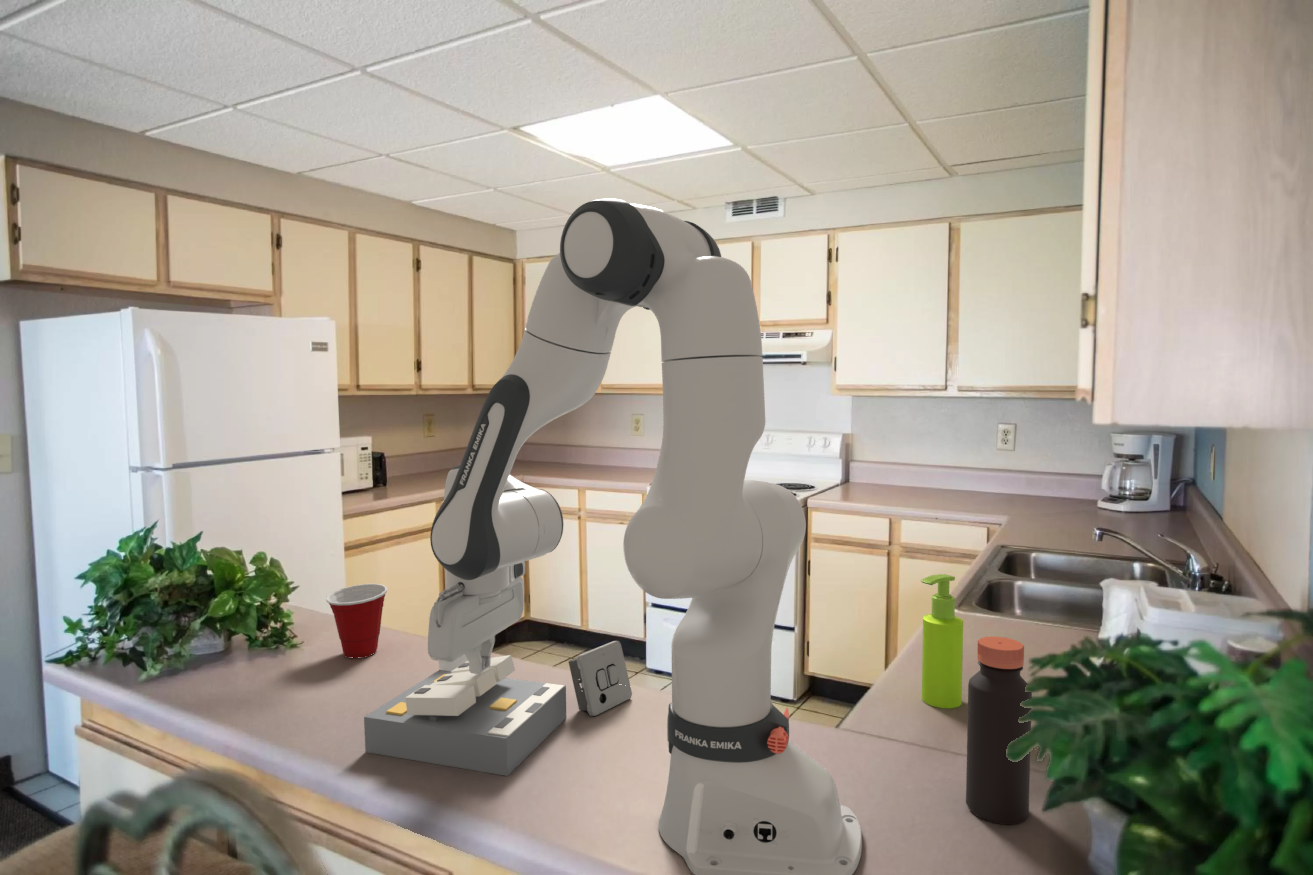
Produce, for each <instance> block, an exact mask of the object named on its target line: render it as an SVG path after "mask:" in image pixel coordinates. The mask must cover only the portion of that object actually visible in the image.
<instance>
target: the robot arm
mask: <svg viewBox="0 0 1313 875" xmlns="http://www.w3.org/2000/svg"><path fill="white" fill-rule="evenodd" d="M559 243H560V244H559V253H557V254H555V255H554V256H553V257H552V258H551V259H550V260H549V262H548V264H547V267H546V269H545V270H544V272H543V274H542V276H541V279H540V281H539V284H538V287H537V289H536V292H535V295H534V297H533V300H532V303H531V306H530V309H529V312H528V315H527V321H526V324H525V328H524V331H523V336H522V338H521V341H520V344H519V347H518V349H517V351H516V353H515V356H514V357H513V360H512V361H511V363H510V364H509V367H508V368H507V370H506V371H505V372H504V374H503V375H502V377H501V378H499V379H498V380H497V382H496V383H495V384H493V386H492V388H491V389H490V391H489V392H488V394H487V396H486V398H485V400H484V402H483V405H482V407H481V409H480V412H479V415H478V417H477V420H476V423H475V425H474V427H473V431H472V433H471V435H470V439H468V440H469V441H468V443H467V446H466V449H465V451H464V454H463V456H462V459H461V462H460V464H459V465H456V466H454V467H453V468H452V469H450V470H449V471H448V473H447V476H446V480H445V485H444V494H443V502H442V504H441V505H440V506H439V508H438V510H437V512H436V514H435V517H434V518H433V522H432V524H431V529H430V536H429V537H430V546H431V550H432V553H433V556H434V557H435V559H436V560H437V561H438V563H439V564H440V565H441V566H442V567H443V569H444V570H445V571H444V572H445V589H443V590H442V591H440V593H438V597H437V599H436V601H435V602H434V604H433V606H432V607H431V610H430V614H429V617H428V618H429V620H428V628H427V630H428V631H427V633H428V634H427V654H428V656H429V657H430V659H431V660H432V661H438V662H439V661H444V662H453V661H455V660H456V659H458V658H459V657H461V656H463V655H464V654H465V656H466V657H467V659H468V661H469V671H470V673H473V674H479V673H481V672H482V671H484V670H485V669H486V668H488V667H489V666H490V665H491V659H490V658H491V655H492V653H493V649H494V645H495V642H496V635H498V634H499V633H501V632H502V631H504V630H506V629H507V628H508V627H510V626H512V625H513V624H515V623H517V622H518V621H520V620H521V618H522V616H523V613H524V607H525V584H524V583H525V582H524V579H523V576H524V575H525V574H526V562H528V561H531V560H533V559H537V558H540V557H543V556H546V555H547V554H549V553H551V552H553V551H554V550H556V548H557V547H558V546H559V543H561V540H562V537H563V533H564V517H563V512H562V509H561V507H560V504H559V503H558V501H557V499H556V498H555V497H554V496H553V495H552V494H551V493H550V492H549V491H547V490H545V489H543V488H536V487H533V486H531V485H530V484H527V483H525V482H524V481H521V480H519V479H518V478H517V477H515V476H513V475H512V474H511V471H512V469H513V466H514V464H515V461H516V459H517V456H518V453H519V452H520V450H521V448H522V446H523V445H524V444H525V443H526V441H527V440H528V439H529V438H530V437H531V436H532V435H533V434H535V433H536V432H537V431H538V430H540V429H541V428H542V427H543V428H544V426H546V425H547V424H549V423H551V422H552V421H554V420H556V419H558V418H560V417H563V416H564V415H566V414H569V413H571V412H573V411H575V410H577V409H579V408H580V407H582V406H583V405H585V404H587V403H588V402H589V401H591V399H592V398H593V397H594V396H595V395H596V393H597V391H598V389H599V388H600V386H601V384H602V381H603V379H604V377H605V375H606V372H607V369H608V364H609V360H610V357H611V353H612V351H613V346H614V343H615V338H616V334H617V329H618V327H619V324H620V321H621V319H622V318H623V316H624V315H625V314H626V313H627V312H628V311H630V310H631V309H633V308H636V307H639V308H642V309H645V310H647V311H651V312H652V313H653V314H654V316H655V318H656V320H657V322H658V326H659V332H660V353H661V359H660V360H661V374H662V375H661V377H662V382H661V383H662V407H663V408H662V409H663V410H662V412H663V413H662V414H663V417H662V418H663V426H662V430H663V431H662V438H661V446H660V452H659V455H658V456H659V457H658V460H657V463H656V468H655V471H654V475H653V479H652V482H651V485H650V487H649V490H648V492H647V495H646V496H645V499H643V502H642V503H641V505H640V506H639V508H638V509H637V510H636V512H635V513H634V514H633V515H632V517H631V518H630V519H629V522H628V523H627V525H626V527H625V531H624V535H623V544H622V545H623V555H624V556H623V557H624V561H625V564H626V567H627V571H628V572H629V574H630V576H631V578H632V579H633V581H634V583H635V584H637V586H638V587H639V588H640V589H642V591H644V592H645V593H646V594H648V595H650V596H651V597H654V598H658V599H662V600H663V599H665V600H666V599H667V600H668V599H672V600H676V599H678V600H680V599H681V600H682V599H691V600H690V603H689V605H688V607H687V610H686V612H685V614H684V615H683V618H682V619H681V620H680V622H679V623H678V625H677V626H676V628H675V631H674V633H673V635H672V639H671V702H670V703H669V705H668V713H667V717H666V718H667V720H666V721H667V723H666V726H667V727H666V729H667V730H666V731H667V732H666V735H667V737H666V738H667V739H666V740H667V742H668V744H667V745H668V753H669V754H670V760H669V761H670V762H669V772H668V780H667V786H666V793H665V798H664V803H663V806H662V810H661V813H660V816H659V819H658V830H659V834H660V836H661V838H662V839H663V841H664V842H665V843H666V845H667V846H669V848H671V849H672V850H673V851H674V852H676V853H677V854H679V855H680V856H681V857H682V858H683V859H684V861H685V863H686V865H687V867H688V868H689V870H690V871H691V873H692V874H693V875H854V873H855V872H856V870H857V868H858V866H859V863H860V859H861V857H862V851H863V850H862V848H863V837H862V827H861V824H860V822H859V819H858V817H857V816H856V814H855V813H854V812H853V811H852V809H851V808H850V807H849V806H846V805H843V804H841V802H840V796H839V793H838V788H837V786H836V782H835V780H834V778H833V776H832V774H831V773H830V771H829V770H828V769H827V768H826V767H825V766H823V765H822V764H821V763H819V761H817V760H816V759H814V758H813V757H812V756H810V755H809V754H808V753H806V752H805V751H804V750H803V749H802V748H800V747H799V746H798V745H796V743H794V742H793V741H791V739H790V721H789V720H790V718H789V717H790V713H789V712H790V711H789V708H788V707H786V708H785V709H784V712H783V713H782V712H781V710H779V709H778V708H777V707H776V706H775V705H774V704H773V703H772V701H771V699H772V698H771V697H772V696H771V694H772V692H771V689H772V688H771V685H772V684H771V683H772V681H771V680H772V645H773V637H774V630H775V624H776V620H777V615H778V610H779V605H780V602H781V599H782V595H783V591H784V587H785V583H786V578H787V576H788V572H789V569H790V566H791V563H792V561H793V560H794V557H795V555H796V553H797V552H798V551H799V549H800V548H801V546H802V543H803V542H804V539H805V536H806V535H805V534H806V528H807V523H806V521H807V520H806V515H805V512H804V509H803V507H802V505H801V503H800V501H799V499H798V498H797V496H796V495H794V494H793V492H791V491H790V489H787V488H786V487H784V486H782V485H780V484H777V483H774V482H773V483H772V482H769V481H761V480H754V479H749V480H748V479H745V477H746V473H747V468H748V465H749V461H750V459H751V458H750V457H751V456H752V452H753V450H754V449H755V446H756V445H757V443H758V442H759V440H760V439H761V438H762V436H763V433H764V431H765V428H766V408H765V406H766V405H765V404H766V403H765V402H766V401H765V384H764V383H765V382H764V380H765V378H764V361H763V360H764V359H763V345H762V344H763V342H762V334H761V324H760V319H759V313H758V306H757V302H756V298H755V297H756V296H755V293H754V289H753V285H752V281H751V278H750V275H749V273H748V272H747V270H745V268H744V267H743V266H741V264H739V263H738V262H736V261H734V260H732V259H730V258H725V257H722V253H721V250H720V248H719V245H718V244H717V242H716V240H715V239H714V238H713V237H712V236H711V235H710V233H708V232H707V230H705V229H704V228H703V227H701V226H699V225H698V224H696V223H695V222H691V221H688V220H683V219H681V218H679V217H678V216H674V215H672V214H670V213H668V212H666V211H664V210H663V209H658V208H656V207H652V206H647V205H643V204H638V203H631V202H628V201H625V200H623V199H620V198H619V199H617V198H599V199H595V200H591V201H588V202H585V203H583V204H581V205H579V206H578V207H577V208H576V209H575V210H574V211H573V212H572V213H571V214H570V216H569V218H568V219H567V220H566V223H565V225H564V226H563V230H562V232H561V237H560V241H559Z"/></svg>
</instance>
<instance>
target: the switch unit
mask: <svg viewBox="0 0 1313 875" xmlns="http://www.w3.org/2000/svg"><path fill="white" fill-rule="evenodd" d="M446 674H451V671H445V670H439V669H438V670H437V671H435V672H433V673H432V674H431V675H429V676H427V677H425V678H424V679H422V680H420V682H418V683H416V684H414V685H413V686H412V687H409V688H408V689H407V690H405V691H404V692H402V693H400V694H399V695H397V696H395V697H394V698H392V699H391V700H389V701H387V702H386V703H384V704H382V705H381V706H379V707H378V708H376V709H375V710H373V711H371V712H370V713H368V714H366V715H365V716H364V717H363V721H364V722H363V724H364V725H363V726H364V749H365V751H364V752H365V753H370V754H373V755H375V754H376V755H381V756H386V757H392V758H393V757H394V758H398V759H405V760H410V761H417V762H421V763H427V764H433V765H439V766H440V765H441V766H446V767H452V768H459V769H463V770H468V771H476V772H480V773H488V774H493V775H494V774H495V775H500V776H506V777H509V775H510V774H511V773H512V772H513V771H514V770H515V769H516V768H517V767H518V766H520V764H521V763H522V762H523V761H525V759H526V758H527V757H529V755H530V754H532V752H534V751H535V749H536V748H538V747H539V745H540V744H542V743H543V742H544V740H546V738H547V737H549V736H550V735H551V734H552V733H553V732H554V730H556V729H557V728H558V727H559V725H561V724H562V723H563V722H564V721H565V720H566V719H567V693H566V692H567V686H566V685H564V684H558V683H557V684H556V683H549V682H543V681H542V682H540V681H533V680H532V681H531V680H523V679H518V678H517V679H515V678H507V677H505V678H504V679H503V680H501V681H500V682H496V685H495V686H493V687H492V688H491V689H489V690H488V691H486V692H485V693H484V694H482V695H481V696H477V697H476V703H475V704H473V705H472V706H471V707H469V708H468V709H467V710H465V711H464V712H463V713H461V714H460V715H459V716H443V715H408V714H407V707H406V699H405V697H407V696H408V695H410V694H412V693H413V692H415V691H416V690H418V689H419V688H421V687H423V686H424V685H431V684H432V683H434V682H435V681H437V680H438V679H440V678H442V677H443V676H445V675H446Z"/></svg>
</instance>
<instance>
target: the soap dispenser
mask: <svg viewBox="0 0 1313 875" xmlns="http://www.w3.org/2000/svg"><path fill="white" fill-rule="evenodd" d="M954 581H956V577H955V576H953V575H949V574H946V573H942V574H940V573H939V574H932V575H929V576H926V577H923V578H922V579H921V580H920V582H921V583H922V584H925V585H927V586H928V585H929V586H933V585H935V584H937V593H935V594H933V595H932V596H931V613H929V614H928V613H927V614H924V615H923V617H922V654H921V656H922V658H921V659H922V660H921V665H922V666H921V668H922V669H921V700H922V701H923V703H925V704H926V705H929V706H930V707H934V708H939V709H946V710H947V709H948V710H949V709H956V708H959V707H960V706H962V702H963V701H962V700H963V698H962V697H963V656H964V655H963V654H964V653H963V652H964V651H963V650H964V619H962V618H961V617H959V616H957V615H956V614H955V612H956V609H955V608H956V599H955V598H956V597H955V596H952V594H950V582H954Z"/></svg>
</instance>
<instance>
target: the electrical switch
mask: <svg viewBox="0 0 1313 875" xmlns="http://www.w3.org/2000/svg"><path fill="white" fill-rule="evenodd" d="M568 666H569V670H570V675H571V680H572V683H573V689H574V693H575V697H576V698H575V699H576V702H577V706H578V710H579V711H586V712H588V714H589V716H590V717H594V716H595V717H596V716H598V715H600V714H602V713H604V712H605V711H608V710H609V709H611V708H614V707H615V706H618V705H619V704H622V703H624V702H626V701H628V700H630V699H631V698H632V695H633V692H632V688H631V687H630V686H631V683H630V678H629V674H628V670H627V669H628V668H627V665H626V661H625V656H624V652H623V648H622V643H621V642H620V641H619V640H613V641H611V642H608V643H605V644H603V645H601V646H598V647H595V648H593V649H590V650H587V651H586V652H583V653H581V654H579V655H577V656H576V657H575V658H572V659H570V660H568ZM619 684H622V685H619ZM625 685H626V686H625Z"/></svg>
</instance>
